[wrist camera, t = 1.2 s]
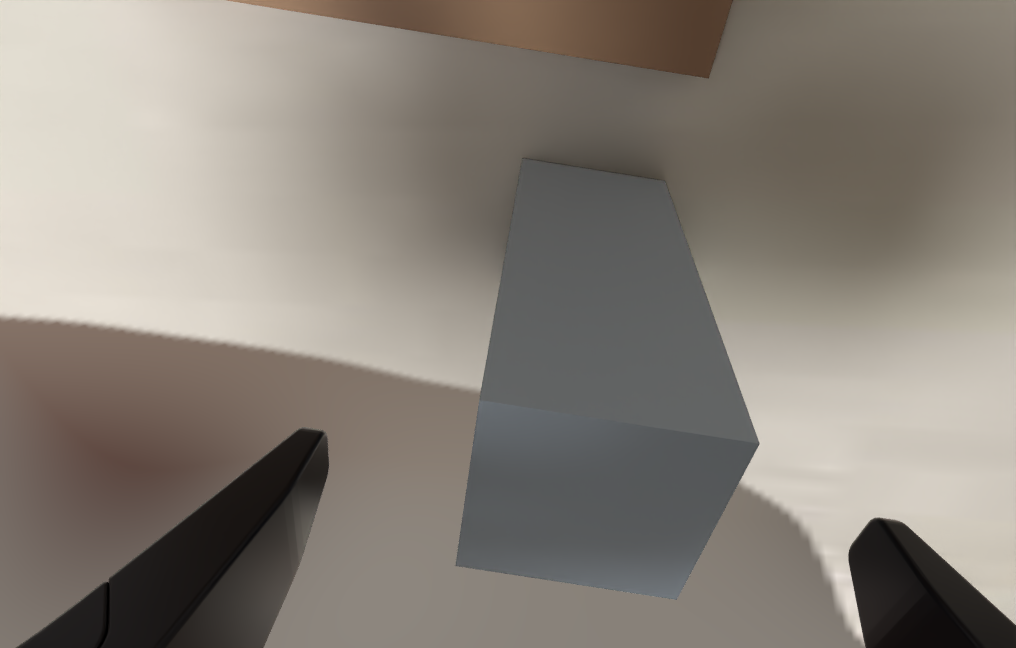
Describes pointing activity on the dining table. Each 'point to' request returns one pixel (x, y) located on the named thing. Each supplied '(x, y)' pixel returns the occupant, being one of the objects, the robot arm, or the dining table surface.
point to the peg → (601, 394)
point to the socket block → (555, 26)
